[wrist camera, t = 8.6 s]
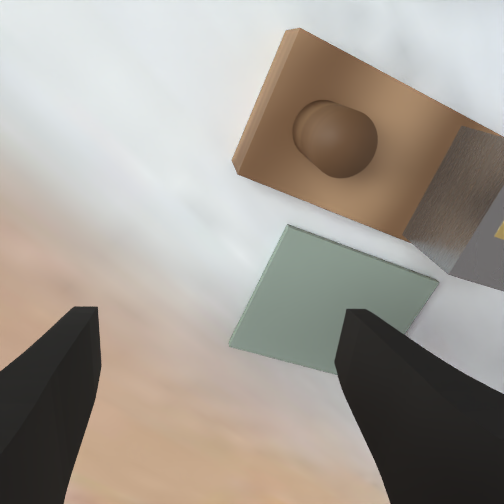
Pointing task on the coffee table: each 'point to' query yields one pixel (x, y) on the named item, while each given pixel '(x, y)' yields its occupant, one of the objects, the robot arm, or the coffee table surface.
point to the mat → (323, 299)
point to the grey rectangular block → (465, 210)
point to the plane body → (345, 135)
